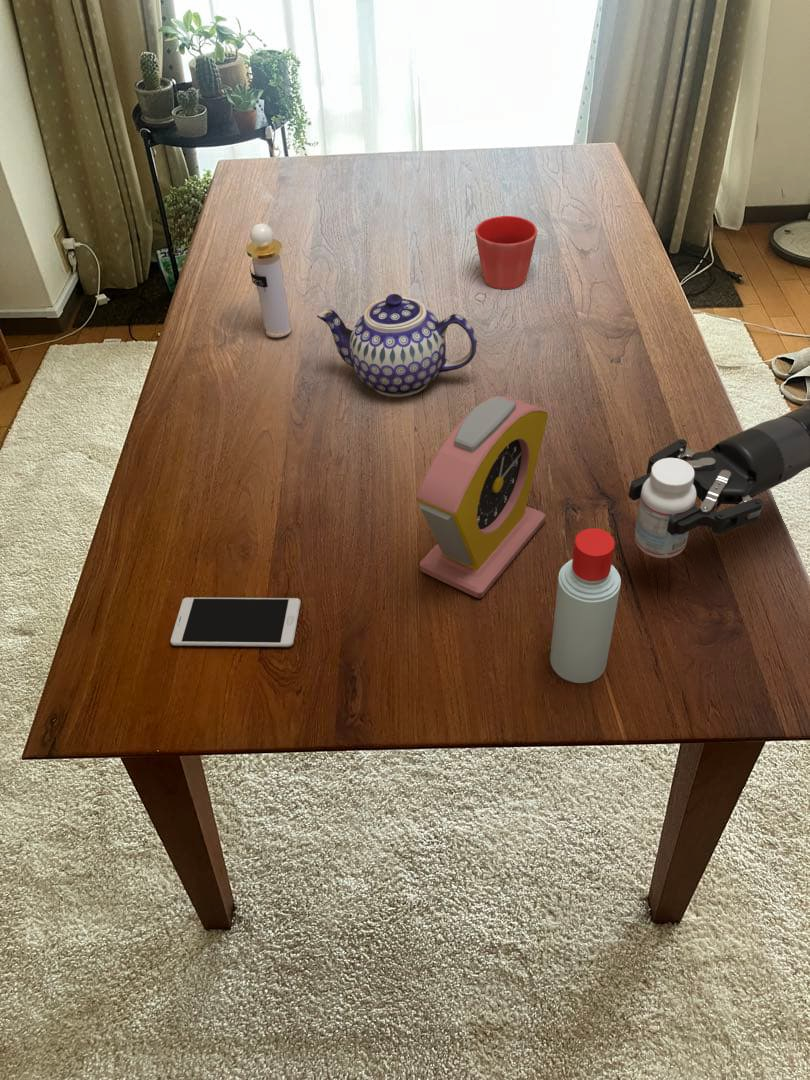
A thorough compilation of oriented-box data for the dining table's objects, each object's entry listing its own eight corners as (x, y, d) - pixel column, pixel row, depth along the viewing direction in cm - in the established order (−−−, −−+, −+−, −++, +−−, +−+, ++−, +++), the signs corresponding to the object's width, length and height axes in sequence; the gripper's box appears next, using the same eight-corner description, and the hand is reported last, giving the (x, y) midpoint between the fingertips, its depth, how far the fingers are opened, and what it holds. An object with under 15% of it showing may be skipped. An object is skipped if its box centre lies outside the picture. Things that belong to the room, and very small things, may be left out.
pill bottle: (677, 521, 109) (692, 450, 101) (691, 557, 104) (709, 486, 96) (627, 526, 109) (639, 455, 101) (640, 562, 104) (653, 491, 96)
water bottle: (616, 673, 101) (638, 558, 88) (565, 690, 100) (580, 575, 87) (590, 632, 106) (607, 516, 92) (540, 648, 104) (551, 532, 91)
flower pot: (504, 301, 159) (506, 250, 152) (463, 278, 165) (463, 228, 158) (546, 279, 163) (550, 229, 157) (505, 259, 170) (506, 209, 163)
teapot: (484, 360, 146) (485, 277, 136) (466, 415, 136) (466, 330, 126) (339, 345, 152) (329, 265, 141) (311, 397, 142) (298, 315, 131)
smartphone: (292, 644, 106) (168, 643, 107) (293, 648, 106) (169, 646, 107) (301, 597, 111) (182, 596, 112) (301, 600, 111) (184, 599, 112)
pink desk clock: (468, 616, 108) (468, 483, 93) (406, 585, 112) (396, 453, 97) (555, 510, 121) (568, 377, 105) (496, 486, 125) (500, 354, 109)
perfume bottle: (281, 321, 158) (263, 212, 144) (302, 333, 155) (285, 223, 141) (256, 334, 156) (234, 225, 141) (276, 346, 152) (256, 236, 138)
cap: (617, 575, 91) (622, 549, 88) (583, 586, 90) (586, 560, 87) (599, 550, 93) (603, 524, 91) (565, 560, 93) (568, 534, 90)
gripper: (724, 401, 108) (613, 450, 103) (817, 467, 99) (699, 524, 94) (713, 449, 113) (607, 497, 108) (799, 515, 104) (688, 572, 99)
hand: (650, 510), depth 101 cm, fingers closed on pill bottle, 6 cm apart
